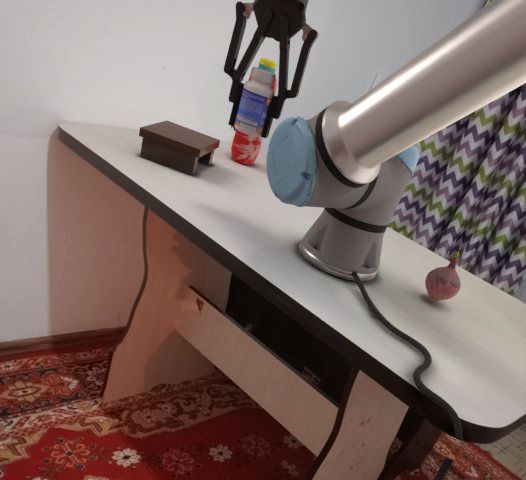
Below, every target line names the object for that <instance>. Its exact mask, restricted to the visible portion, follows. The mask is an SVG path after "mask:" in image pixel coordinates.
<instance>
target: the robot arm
mask: <svg viewBox="0 0 526 480" xmlns="http://www.w3.org/2000/svg"><path fill="white" fill-rule="evenodd" d="M309 1H310V0H253V2H243V1H236V3H235V22H234V27H233V31H232V34H231V37H230V42H229V45H228V50H227V54H226V57H225V62H224V66H223V72H224V73H225V74H226V75H228V76H229V78H230V79H231V86H230V90H229V95H228V103H229V102H230V103H232V106H231V107H232V108H231V112H230V116H229V120H228V123H227V124H228V126H230V127H231V126H234V124H235V120H236V116H237V112H238V107H239V103H240V99H241V95H242V90H243V86H244V83H245V82H243V81H244V78H245V76H246V74H247V72H248V71H249V69H250V67H251V65H252V63H253V61H254V59H255V58H256V56H257V54H258V51H260V48H261V46H262V45H263V43H264V41H265V39H267V38H268V39H273V40H274V41H276V42H277V43H278V45H279V46H278V47H279V48H278V49H279V58H278V59H279V60H278V80H277V94H276V95H275V96H273V97H272V101H271V104H270V108H269V111H268V115H267V119H266V122H265V126H264V129H263V133H262V136H261V137H263V138H262V139H267V138H268V137H269V135H270V132H271V128H272V124H273V121H274V120H279V119H280V118H281V115H282V113H283V109H284V106H285V102H286V101H287V99H295V98H298V96H299V94H300V90H301V89H300V88H301V86H302V82H303V80H304V75H305V72H306V68H307V65H308V61H309V57H310V54H311V49H312V48H313V46H314V44H315V43H316V41H317V40H318V38H319V31H318V30H316V29H313V28H312V27H311V25H309V24H308V23H307V18H306V12H307V7H308V4H309ZM252 13H254V18H255V21H256V24H257V28H256V29H255V31H254V33H253V36H252V38H251V40H250V42H249V44H248V46H247V48H246V50H245V52H244V54H243V56H242V58H241V60H240V62H239V64H238V65H237V61H238V58H239V53H240V50H241V46H242V43H243V39H244V34H245V31H246V27H247V21H248V20H249V19H251V16H252ZM300 31H302V35H301V40H302V41H303V43H302V45H301V48H300V52H299V56H298V59H297V63H296V67H295V70H294V75H293V79H292V82H291V86H290V89H288V87H289V86H288V85H289V84H288V83H289V82H288V81H289V67H290V66H289V65H290V50H291V39H292V38H293V37H295V35H297V34H298V33H299V32H300ZM236 65H237V68H236ZM524 84H526V0H491V1H490V2H488V3H487V4H486V5H485V6H483V7H482V8H480V9H479V10H478V11H476V12H475V13H473V14H471V16H469V17H468V18H466V19H465V20H464V21H463V22H461V23H460V24H458V25H457V26H455V27H454V28H453V29H452V30H450V31H449V32H448V33H446V34H445V35H444V36H442V37H440V38H439V39H438V40H437V41H435V42H434V43H432V44H431V45H430V46H428V47H427V48H425V49H424V50H422V51H421V52H420V53H419V54H417V55H416V56H415V57H413V58H412V59H411V60H409V61H407V62H406V63H405V64H404V65H402V66H401V67H400V68H398V69H397V70H396V71H394V72H393V73H391V74H390V75H389V76H387V77H386V78H384V79H383V80H382V81H381V82H379V83H377V84H376V85H375V86H374V87H372V88H371V89H370V90H368V91H367V92H365V93H363V95H361V96H359V98H357V99H356V100H355V101H353V102H350V101H347V100H341V99H340V100H336V101H333V102H332V103H330V104H329V105H328V106H326V107H325V108H324V109H322V110H321V111H319V112H318V113H317V114H316V115H314V116H313V117H311V118H308V119H305V118H303V117H301V116H296V117H294V116H293V117H292V116H291V117H287V118H285V119H284V120H282V121H280V123H279V124H278V125H277V126H276V127H275V129H274V131H273V133H272V134H271V137H270V140H269V142H268V148H267V153H266V158H265V159H266V161H265V162H266V163H265V164H266V166H265V169H266V176H267V181H268V185H269V187H270V190H271V192H272V193H273V195H274V196H275V197H276V198H277V199H278V200H279V201H280V202H281V203H283V204H285V205H291V206H295V207H298V208H302V207H307V208H308V207H310V208H323V211H322V212H321V214H320V215H319V216H318V218H316V220H315V221H314V222H313V224H312V225H311V226H310V227H309V229H308V230H307V231H306V232H305V234H304V235H303V237H302V239H301V241H300V244H299V247H298V250H299V253H300V254H301V256H302V257H303V258H304V259H305V260H306V261H307V262H308V263H310V264H311V265H312V266H314V267H316V268H317V269H319V270H321V271H323V272H325V273H327V274H329V275H332V276H334V277H336V278H340V279H343V280H348V281H352V282H355V283H356V285H357V287H358V289H359V291H360V293H361V296H362V298H363V300H364V302H365V303H366V305H367V306H368V308H369V310H370V311H371V313H372V314H373V315H374V317H375V318H376V319H377V320H378V321H379V322H380V323H381V325H383V326H384V327H385V328H386V329H387V330H388V331H389V332H391V333H392V334H394V335H395V336H397V337H398V338H400V339H401V340H402V341H405V342H407V343H408V344H410V346H412V347H414V348H415V349H416V350H417V351H419V352H420V354H422V356H423V358H424V361H423V362H422V363H421V364H420V365H418V366H417V367H416V368H415V369H414V371H413V374H412V380H413V383H414V384H415V387H416V388H417V390H418V391H420V392H421V393H422V394H423V395H424V396H425V397H427V399H429V400H431V401H432V402H434V403H435V404H436V405H437V406H439V407H440V408H441V409H442V410H443V411H444V412H445V413H446V414H447V416H448V417H449V419H450V421H451V423H452V426H453V432H454V433H453V434H454V436H455V437H456V438H457V439H458V440H460V441H462V440H463V438H464V430H463V425H462V422H461V419H460V417H459V414H458V413H457V412H456V410H455V409H454V407H453V406H452V405H451V404H450V403H449V402H447V400H445V399H444V398H443V397H441V396H440V395H438V394H437V393H435V392H434V391H432V390H431V389H430V388H429V387H428V386H426V385H425V384H424V383H423V381H422V378H421V375H422V374H423V372H425V371H426V370H427V369H428V368H430V366H431V365H432V363H433V358H432V355H431V353H430V351H429V350H428V349H427V347H426V346H424V345H423V344H422V343H421V342H419V341H418V340H417V339H415V338H414V337H412V336H410V335H409V334H407V333H405V332H403V331H402V330H401V329H399V328H398V327H396V326H395V325H393V324H392V323H391V322H390V321H389V320H388V319H387V317H385V316H384V315H383V314H382V313H381V312H380V311H379V309H378V308H377V307H376V305H375V303H374V302H373V301H372V299H371V298H370V296H369V294H368V291H367V289H366V287H365V285H364V283H363V282H369V281H373V280H374V279H375V277H376V275H377V273H378V272H379V268H380V264H381V255H382V249H383V241H384V235H385V233H386V231H387V229H388V226H389V225H390V222H391V220H392V219H393V216H394V214H395V212H396V210H397V208H398V206H399V204H400V202H401V199H402V197H403V196H404V193H405V191H406V189H407V187H408V185H409V184H410V183H409V182H410V181H411V178H413V177H414V173H415V170H416V167H417V164H418V162H419V159H420V153H419V150H418V148H416V146H415V145H417V144H418V143H420V142H422V141H424V140H425V139H428V138H429V137H431V136H433V135H434V134H437V133H438V132H440V131H442V130H444V129H445V128H448V127H449V126H451V125H453V124H455V123H456V122H458V121H460V120H462V119H463V118H465V117H468V116H469V115H471V114H472V113H474V112H476V111H479V110H480V109H482V108H483V107H485V106H487V105H489V104H490V103H492V102H494V101H497V100H498V99H500V98H502V97H503V96H505V95H507V94H509V93H510V92H512V91H514V90H516V89H517V88H519V87H521V86H523V85H524ZM453 463H454V459H451V458H448V457H445V458H444V460H443V461H442V463H441V464H440V467H439V468H438V470H437V472H436V474H435V476H434V478H433V480H444V478H445V477H446V475H447V473H448V472H449V469H450V468H451V466H452V464H453Z"/></svg>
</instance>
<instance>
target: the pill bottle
mask: <svg viewBox="0 0 526 480" xmlns="http://www.w3.org/2000/svg"><path fill="white" fill-rule="evenodd" d="M250 74H251V75H250ZM275 74H276V73H274V74H273V73H271V72H268V71H266V70H263V69H260V68H258V67H256V66H252V67H251V70H250V73H249V77H250V76H251V80H250V81H248V80H246V81H245V82H243V83H244V86H243V90H242V95H241V99H240V103H239V107H238V112H237V116H236V120H235V124H234V127H235V129H237V130H238V131H240V132H243V133H245V134H248V135H251V136H255V137H261V136H262V133H263V129H264V126H265V122H266V119H267V115H268V111H269V108H270V104H271V101H272V97H273V96H274V90H273V89H272V88H271V84H273V82H274V78H275Z"/></svg>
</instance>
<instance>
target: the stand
mask: <svg viewBox="0 0 526 480" xmlns="http://www.w3.org/2000/svg"><path fill="white" fill-rule="evenodd" d="M138 136H139V137H141V138H142V141H141V148H140V155H139V157H141V158H142V159H143V158H144V159H146V160H149V161H151V162H155V163H156V164H159V165H162V166H164V167H167V168H169V169H173V170H175V171H178V172H181V173H184V174H186V175H189V176H194V175H195V174H196V172H197V168H198V163H201V164H203V165H206V166H210V165H211V164H212V163H213V158H214V154H215V150H217V149H218V148H220V143H221V139H219V138H216V137H212V136H210V135H209V134H208V135H207V134H205V133H203V132H199V131H197V130H194V129H191V128H189V127H186V126H184V125H180V124H178V123H176V122H173V121H169V120H163V121H160V122H156V123H152V124H148V125H144V126H140V127H139V131H138Z"/></svg>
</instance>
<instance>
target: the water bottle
mask: <svg viewBox="0 0 526 480" xmlns="http://www.w3.org/2000/svg"><path fill="white" fill-rule="evenodd" d="M277 66H278V63H276V62H275V61H274V60H273V59H269V58H267V57H260V58H259V60H258V67H257V68H260V69H263V70H266V71H268V72H271V73H273V74H275V78H274V82H273V84H271V88H272V89H273V90H274V96H276V91H277V88H278V79H277V74H276V70H277ZM250 75H251V74H250V73H249V77H248V80H247V81H250V80H251V76H250ZM230 129H233V131H234V135H233V139H232V142H231V147H230V149H231V150H230V152H231V153H230V154H231V158H232V160H233V161H235V162H236V163H238V164H241V165H245V166H252V165H253V164H254V163H255V161H256V160H257V159H258V157H259V153H260V151H261V147H262V143H263V142H262V141H263V139H264V138H263V137H255V136H251V135H248V134H245V133H243V132H240V131H238V130H237V129H235V127H234V126H231V125H230Z"/></svg>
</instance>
